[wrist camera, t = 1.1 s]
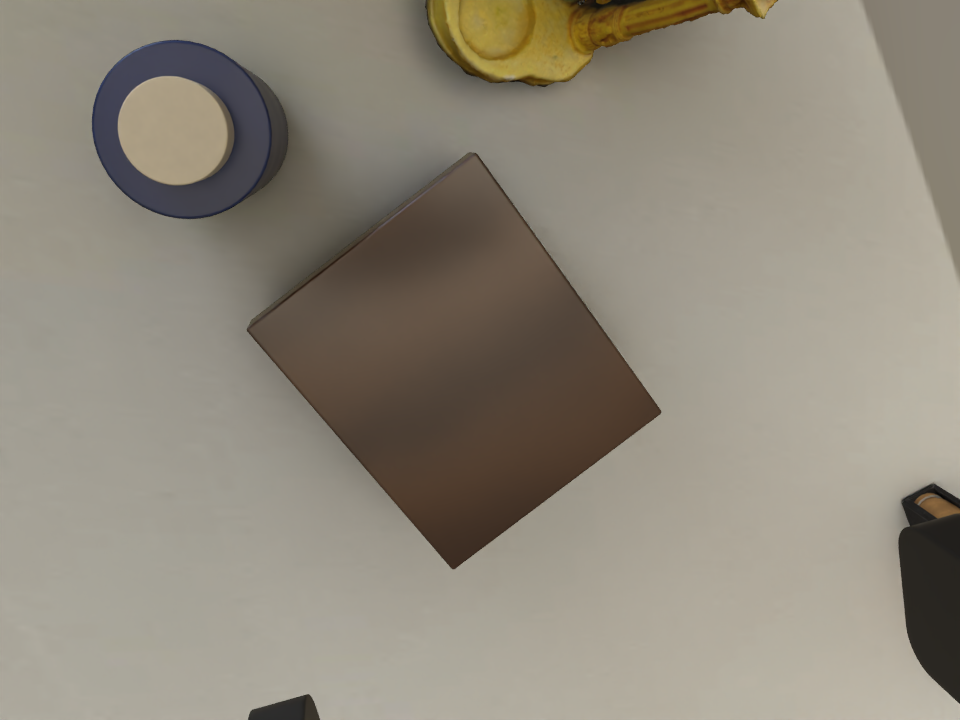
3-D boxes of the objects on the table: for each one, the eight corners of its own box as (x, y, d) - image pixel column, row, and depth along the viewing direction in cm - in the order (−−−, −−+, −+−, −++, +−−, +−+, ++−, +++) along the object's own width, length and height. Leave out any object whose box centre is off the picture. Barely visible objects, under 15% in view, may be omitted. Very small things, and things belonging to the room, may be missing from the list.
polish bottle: (120, 117, 34) (34, 111, 25) (228, 33, 34) (182, -6, 25) (212, 226, 36) (164, 260, 26) (315, 146, 36) (304, 150, 26)
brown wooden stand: (260, 299, 37) (245, 329, 31) (455, 149, 36) (475, 151, 31) (437, 508, 40) (453, 571, 34) (616, 372, 40) (663, 413, 34)
